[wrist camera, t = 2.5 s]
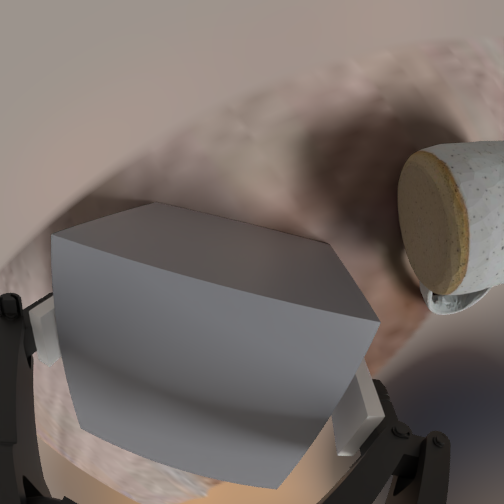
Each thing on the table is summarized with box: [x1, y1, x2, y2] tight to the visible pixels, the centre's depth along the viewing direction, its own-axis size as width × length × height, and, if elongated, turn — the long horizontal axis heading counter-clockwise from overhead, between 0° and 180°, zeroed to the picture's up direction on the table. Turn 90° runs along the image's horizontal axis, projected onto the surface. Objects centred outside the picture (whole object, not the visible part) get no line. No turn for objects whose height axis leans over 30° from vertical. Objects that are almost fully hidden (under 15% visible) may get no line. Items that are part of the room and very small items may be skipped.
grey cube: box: [51, 202, 381, 489], centre depth 13 cm, size 10×10×9 cm
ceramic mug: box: [398, 141, 504, 315], centre depth 11 cm, size 11×8×8 cm
